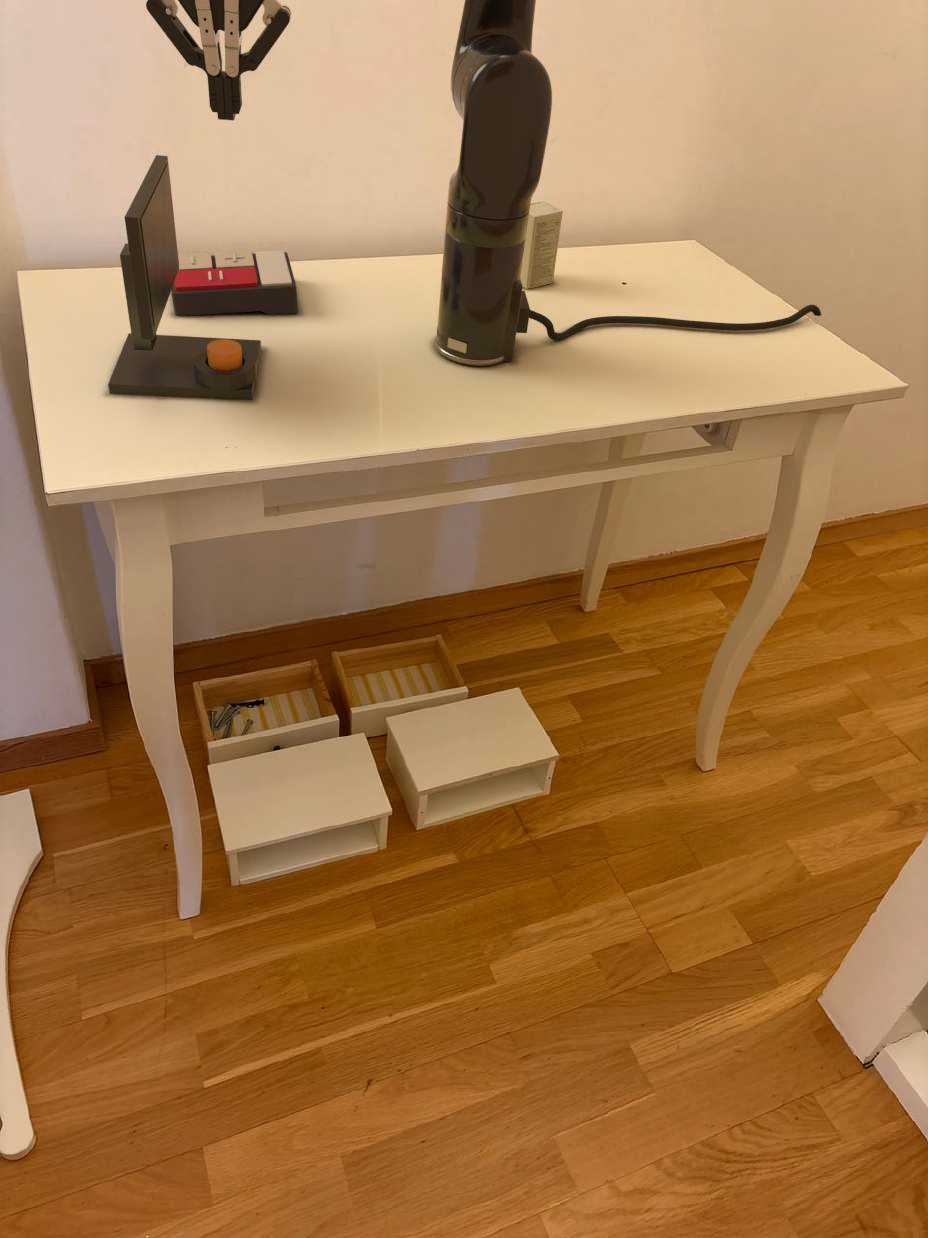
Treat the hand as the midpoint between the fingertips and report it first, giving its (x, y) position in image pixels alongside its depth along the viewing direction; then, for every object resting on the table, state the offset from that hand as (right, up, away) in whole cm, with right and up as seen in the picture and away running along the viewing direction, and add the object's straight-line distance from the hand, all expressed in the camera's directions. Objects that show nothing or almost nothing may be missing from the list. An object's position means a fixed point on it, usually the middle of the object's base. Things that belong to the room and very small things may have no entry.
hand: (227, 117), depth 90 cm
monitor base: (-9, -20, +17) cm, 27 cm away
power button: (-4, -20, +14) cm, 24 cm away
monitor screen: (-10, -14, +11) cm, 20 cm away
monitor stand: (-13, -17, +14) cm, 26 cm away
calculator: (-7, -6, +32) cm, 34 cm away
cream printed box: (+32, 0, +45) cm, 55 cm away
